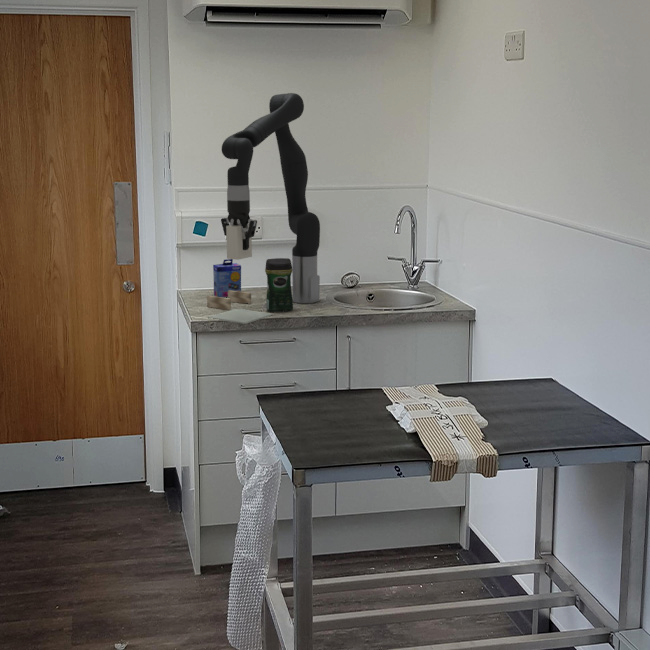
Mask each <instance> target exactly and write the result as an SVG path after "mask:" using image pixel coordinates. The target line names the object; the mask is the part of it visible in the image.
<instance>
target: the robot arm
mask: <svg viewBox="0 0 650 650" xmlns="http://www.w3.org/2000/svg"><path fill="white" fill-rule="evenodd" d="M268 103H269V113H268V114H265V115H263V116H261V117H259V118H257V119H256V120H254V121H252V122H251V123H250V124H249V125H248V126H246V127H245V128H244V129H243V130H240V131H237V132H235V133H233V134H231V135H229V136H227V138H225V140H224V141H223V142H222V145H221V153H222V156H224V158H226V159H229V160H237V162H236V165H235V166H231V167H229V168H228V170H227V172H226V173H227V175H226V177H227V190H226V200H227V201H226V202H227V203H226V204H227V206H226V207H227V213H228V214H227V217H224V218H221V219H220V222H221V225H222V230H223V233H224V236H226V226H229V225H237V226H241V232H242V237H243V250H248V248H249V238H251V237H252V238H253V237H255V234H256V229H257V224H258V220H257V219H252V218H251V217H250V212H251V202H250V201H251V199H250V195H251V194H250V187H249V185H250V184H249V183H250V182H249V180H250V179H249V172H250V169H251V163H252V160H253V155H254V148H256V147H258V146H259V145H260V144H262V142H264V141H265V140H266V139H267V138H268V137H270V136H271V135H272V134H274V135H275V138H276V144H277V147H278V148H277V149H278V154H279V161H280V167H281V168H280V169H281V173H282V178H283V184H284V191H285V196H286V201H287V217H288V219H287V220H288V226H289V229H290V231H291V232H292V234H294V235H296V242H295V245H294V246H293V247H292V250H291V255H292V256H291V257H292V258H291V259H292V260H291V264H292V273H291V277H292V280H291V291H292V299H293V303H297V304H313V303H317V302H319V301H321V300H320V298H321V297H320V296H321V295H320V292H321V291H320V288H321V287H320V285H321V284H320V275H318V250H319V247H320V243H321V241H320V236H321V223H320V219H319V217H318V216H317V215H316V213H314V212H310V211H309V210H308V204H307V199H306V193H307V192H306V190H307V185H308V179H309V170H308V169H309V168H308V163H307V157H306V155H305V153H304V151H303V149H302V147H301V146H300V145H299V143H298V142H297V141H296V139H295V137H294V136H293V134H292V132H291V129H290V125H289V124H290V123H292V122H293V121H296V120H297V119H299V118H300V117H301V116H302V115H303V112H304V109H305V104H304V100H303V98H302V97H301V96H300V94H298V93H293V92H288V93H281V94H274V95H273V96H271V98H270V99H269V102H268ZM248 225H249V228H248ZM246 226H247V229H245V230H244V229H243V228H246ZM245 232H246V234H245ZM226 237H227V236H226Z"/></svg>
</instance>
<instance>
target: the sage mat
mask: <svg viewBox="0 0 650 650" xmlns="http://www.w3.org/2000/svg"><path fill="white" fill-rule="evenodd" d="M271 315H272V316H274V314H273V313H272V312H271V313H269V312H262V311H256V310H248V309H243V308H242V309H241V308H233V309H231V310H227V311H226V310H225V311H224V312H220V313H217V314H216V313H215V314H213V315H210V316H207V319H209V318H213V319H212V320H215V319H219V320H218V321H224V322H228V323H229V322H230V323H235V324H241V325H242V324H243V325H247V324H250V323H253V322H255V321H260V320H262V319H266V318H268V317H267V316H269V317H272V316H271ZM265 317H266V318H265Z"/></svg>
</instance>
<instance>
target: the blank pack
mask: <svg viewBox="0 0 650 650" xmlns="http://www.w3.org/2000/svg"><path fill="white" fill-rule="evenodd" d="M248 228H249V225H248ZM243 229H244V230H245V229H247V226H246V228H243ZM245 234H246V232H245ZM252 239H253V237H251V238H249V248H248V250H243V237H242V232H241V226H237V225H230V224H229V226H226V259H233V260H234V261H235V260H238V261H239V260H243V259H247V258H252V257H253V243H252V242H253V240H252Z"/></svg>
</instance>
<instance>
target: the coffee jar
mask: <svg viewBox="0 0 650 650" xmlns="http://www.w3.org/2000/svg"><path fill="white" fill-rule="evenodd" d="M264 270H265V271H264V272H265V274H266V278H267V279H266V282H267V283H266V286H267V287H266V296H265V297H266V299H265V301H266V302H265V310H266V311H267V312H271V313H273V312H274V313H282V312H283V311H284V312H290V311H292V310H294V302H293V291H292V280H291V277H292V260H291V259H290V258H287V257H285V258H283V257H282V258H281V257H280V258H279V257H277V258H267V259H266V261H265V267H264Z"/></svg>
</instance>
